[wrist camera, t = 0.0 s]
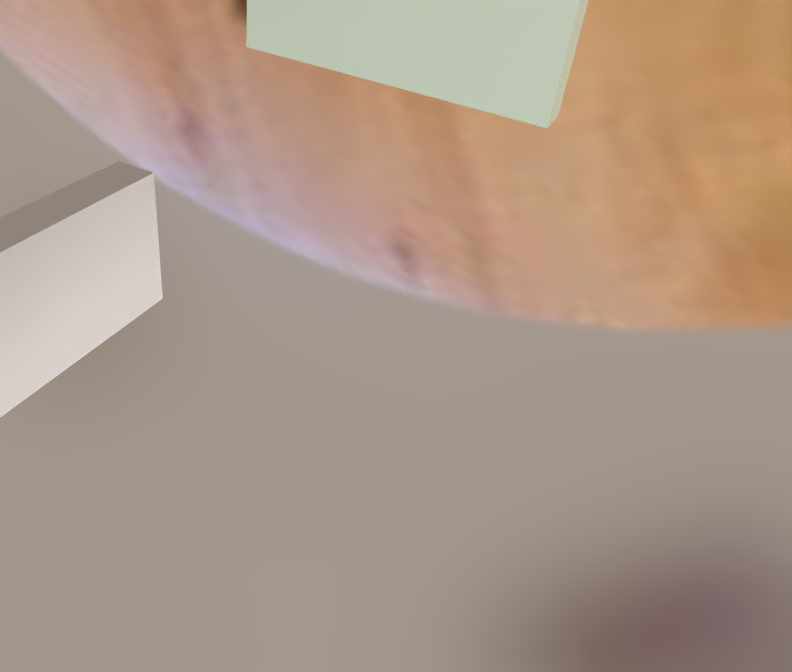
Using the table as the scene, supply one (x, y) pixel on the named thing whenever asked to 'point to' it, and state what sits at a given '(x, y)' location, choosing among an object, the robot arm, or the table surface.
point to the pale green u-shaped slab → (435, 47)
